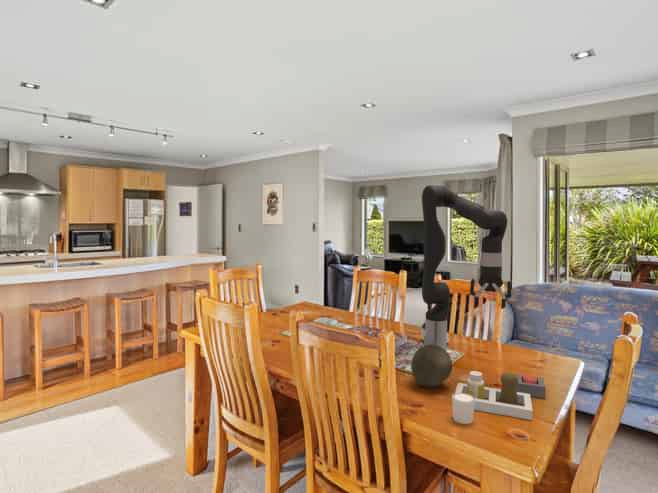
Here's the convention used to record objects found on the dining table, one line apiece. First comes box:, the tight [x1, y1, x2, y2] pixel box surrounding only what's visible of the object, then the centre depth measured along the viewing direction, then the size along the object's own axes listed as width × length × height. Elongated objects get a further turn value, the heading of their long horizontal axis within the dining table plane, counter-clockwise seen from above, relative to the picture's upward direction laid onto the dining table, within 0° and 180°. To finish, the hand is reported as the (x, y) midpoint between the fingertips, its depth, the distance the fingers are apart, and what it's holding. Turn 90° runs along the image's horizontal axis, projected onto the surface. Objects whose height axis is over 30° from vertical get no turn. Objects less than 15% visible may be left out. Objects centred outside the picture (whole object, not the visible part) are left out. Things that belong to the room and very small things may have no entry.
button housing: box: [515, 373, 547, 400], centre depth 142 cm, size 9×9×4 cm
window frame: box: [454, 382, 534, 421], centre depth 132 cm, size 23×12×3 cm, turn 67°
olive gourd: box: [498, 372, 519, 406], centre depth 130 cm, size 6×6×11 cm
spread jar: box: [420, 318, 450, 344], centre depth 196 cm, size 12×11×12 cm
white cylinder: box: [451, 393, 475, 425], centre depth 122 cm, size 7×7×7 cm
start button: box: [523, 375, 537, 384], centre depth 141 cm, size 4×4×3 cm
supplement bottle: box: [466, 370, 485, 400], centre depth 134 cm, size 5×5×10 cm
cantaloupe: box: [410, 344, 453, 388], centre depth 146 cm, size 14×14×15 cm
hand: (489, 307), depth 149 cm, fingers open, 8 cm apart
